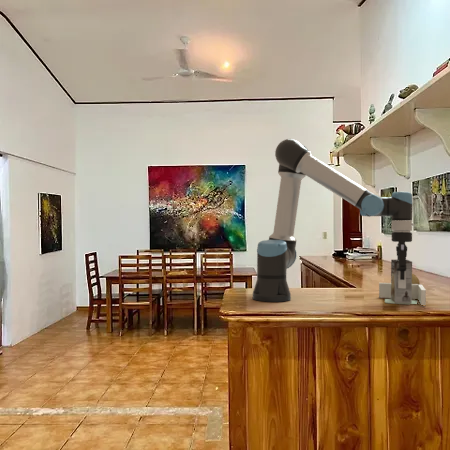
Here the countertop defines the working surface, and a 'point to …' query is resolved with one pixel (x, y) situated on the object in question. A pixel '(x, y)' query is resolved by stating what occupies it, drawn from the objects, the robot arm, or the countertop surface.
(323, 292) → the countertop surface
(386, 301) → the pad
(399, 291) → the coffee box
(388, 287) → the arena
